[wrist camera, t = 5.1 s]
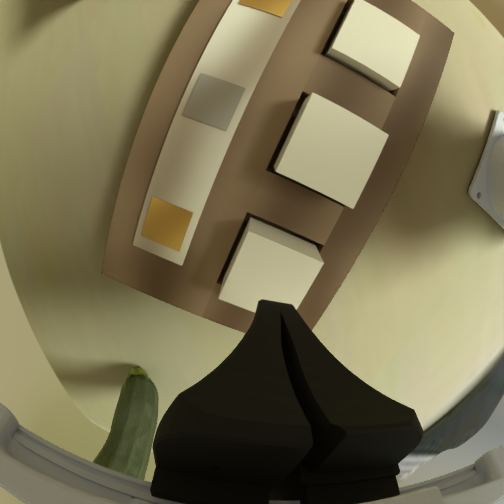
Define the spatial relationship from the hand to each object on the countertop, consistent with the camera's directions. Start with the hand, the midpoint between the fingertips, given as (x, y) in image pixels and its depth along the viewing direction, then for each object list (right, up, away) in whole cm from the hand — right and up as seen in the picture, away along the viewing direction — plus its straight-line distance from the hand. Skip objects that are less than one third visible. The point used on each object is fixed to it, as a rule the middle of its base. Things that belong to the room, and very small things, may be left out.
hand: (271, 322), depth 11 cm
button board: (+1, +10, +4) cm, 11 cm away
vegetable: (-10, -9, +13) cm, 18 cm away
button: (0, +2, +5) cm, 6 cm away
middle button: (+3, +8, +3) cm, 9 cm away
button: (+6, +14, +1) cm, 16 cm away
